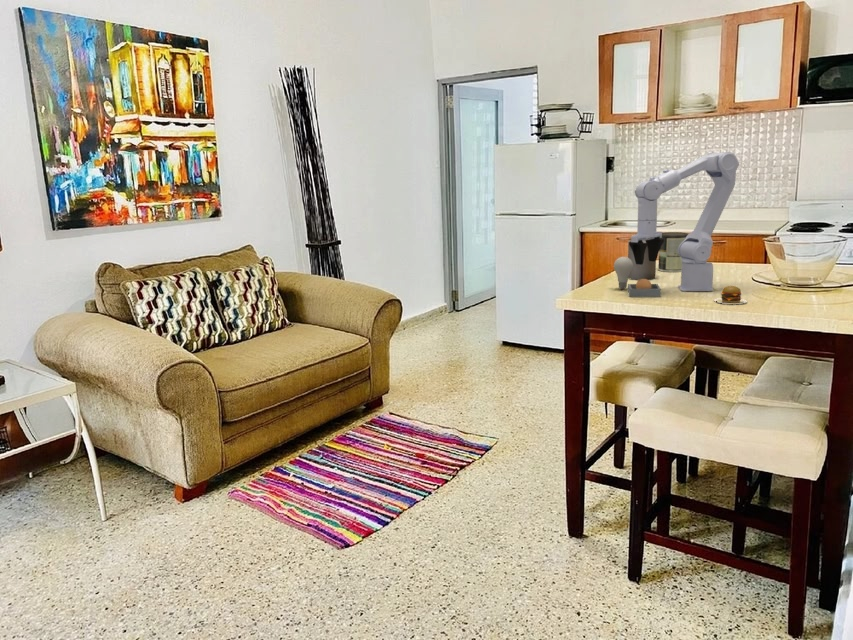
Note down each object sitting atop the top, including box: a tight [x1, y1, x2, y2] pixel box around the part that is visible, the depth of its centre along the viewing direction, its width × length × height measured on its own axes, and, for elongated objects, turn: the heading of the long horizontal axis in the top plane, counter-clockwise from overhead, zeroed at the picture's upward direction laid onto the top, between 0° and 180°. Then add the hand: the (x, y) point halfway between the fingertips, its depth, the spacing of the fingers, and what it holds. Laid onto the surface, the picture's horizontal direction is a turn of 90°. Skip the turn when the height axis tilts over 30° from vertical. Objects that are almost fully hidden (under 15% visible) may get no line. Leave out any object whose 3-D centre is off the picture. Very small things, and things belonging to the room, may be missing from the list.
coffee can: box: [657, 231, 689, 273], centre depth 254 cm, size 10×10×14 cm
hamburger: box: [713, 285, 748, 306], centre depth 195 cm, size 12×12×6 cm
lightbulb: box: [613, 256, 633, 290], centre depth 220 cm, size 6×6×11 cm
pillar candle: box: [627, 239, 657, 281], centre depth 239 cm, size 10×10×15 cm
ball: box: [635, 279, 652, 289], centre depth 211 cm, size 5×5×5 cm
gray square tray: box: [627, 283, 662, 298], centre depth 211 cm, size 9×9×2 cm
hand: (646, 262), depth 211 cm, fingers open, 7 cm apart
